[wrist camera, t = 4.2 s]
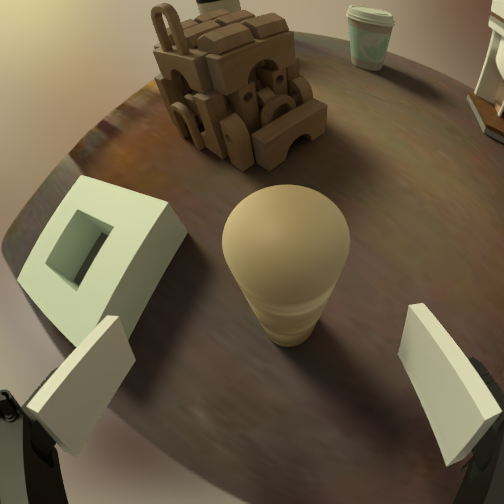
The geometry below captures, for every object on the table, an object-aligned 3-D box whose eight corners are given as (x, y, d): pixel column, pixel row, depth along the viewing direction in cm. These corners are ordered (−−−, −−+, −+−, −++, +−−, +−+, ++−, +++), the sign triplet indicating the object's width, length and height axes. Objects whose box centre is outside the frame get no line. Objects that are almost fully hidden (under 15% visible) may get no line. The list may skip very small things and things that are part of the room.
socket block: (187, 232, 26) (168, 202, 21) (118, 361, 21) (83, 353, 16) (102, 199, 30) (81, 174, 25) (45, 295, 25) (17, 279, 21)
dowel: (312, 296, 21) (339, 182, 9) (315, 345, 20) (358, 293, 7) (263, 298, 22) (225, 188, 9) (263, 347, 20) (218, 300, 8)
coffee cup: (347, 70, 36) (350, 11, 26) (341, 53, 40) (342, 2, 29) (393, 77, 35) (402, 20, 24) (382, 59, 39) (387, 9, 28)
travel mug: (254, 44, 45) (242, -26, 29) (236, 57, 42) (219, -21, 26) (223, 44, 48) (207, -21, 31) (203, 57, 45) (183, -14, 29)
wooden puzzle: (335, 126, 30) (341, -15, 13) (247, 189, 27) (202, 7, 11) (228, 76, 39) (206, -18, 22) (155, 118, 36) (110, 18, 20)
